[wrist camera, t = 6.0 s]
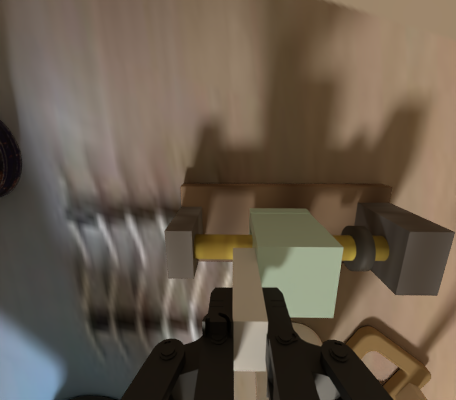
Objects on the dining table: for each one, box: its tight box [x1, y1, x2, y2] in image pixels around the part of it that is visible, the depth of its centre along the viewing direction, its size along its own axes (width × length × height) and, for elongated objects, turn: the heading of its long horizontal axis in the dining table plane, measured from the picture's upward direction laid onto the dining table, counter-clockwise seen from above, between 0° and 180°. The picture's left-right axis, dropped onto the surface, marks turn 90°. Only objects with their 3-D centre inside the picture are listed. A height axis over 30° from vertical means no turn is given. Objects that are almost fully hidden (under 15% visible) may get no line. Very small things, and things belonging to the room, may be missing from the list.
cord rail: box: [165, 183, 455, 296], centre depth 21 cm, size 20×8×8 cm, turn 90°
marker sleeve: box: [249, 208, 344, 318], centre depth 18 cm, size 5×5×7 cm
